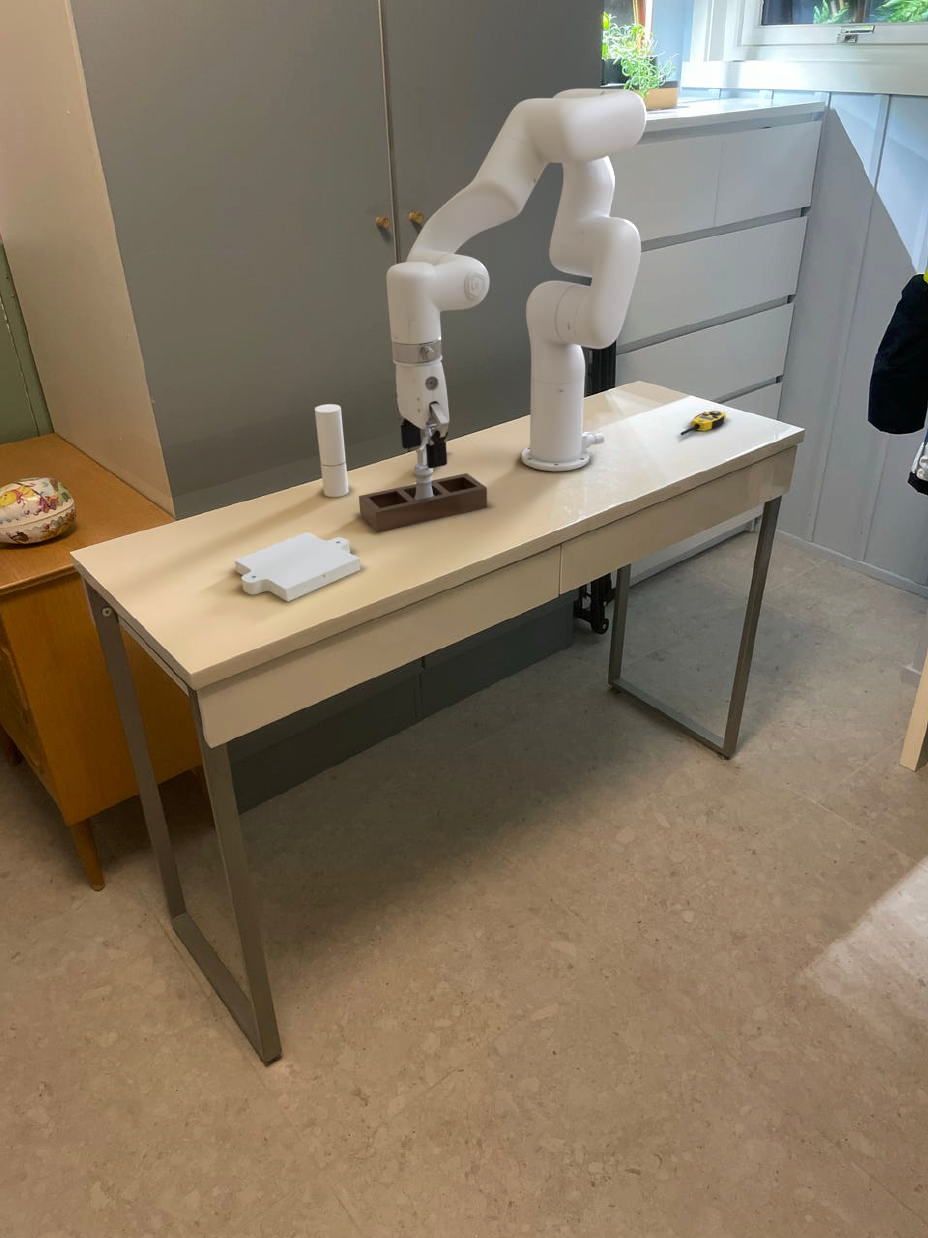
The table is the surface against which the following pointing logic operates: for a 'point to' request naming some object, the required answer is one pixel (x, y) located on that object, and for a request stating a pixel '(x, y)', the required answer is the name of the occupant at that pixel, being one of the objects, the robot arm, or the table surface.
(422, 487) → the rook chess piece
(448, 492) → the piece stand
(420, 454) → the white ornate piece
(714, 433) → the table surface
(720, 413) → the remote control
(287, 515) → the table surface
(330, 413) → the tube
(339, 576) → the mounting plate
